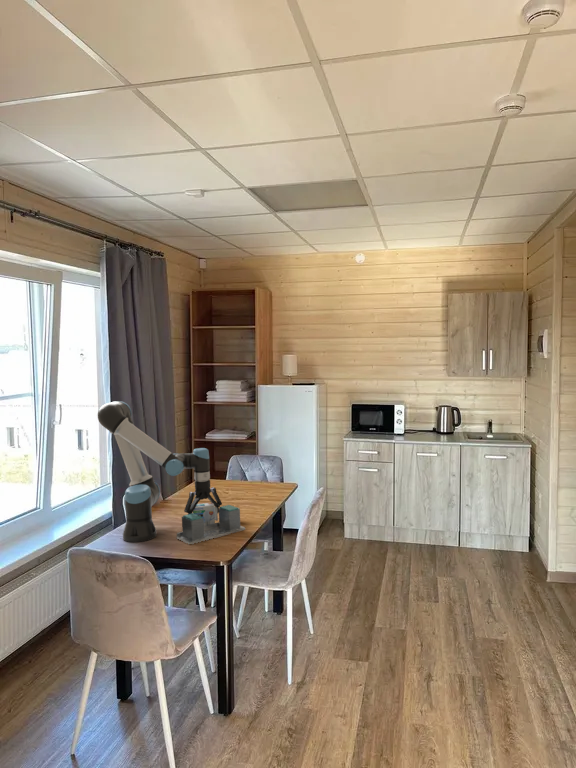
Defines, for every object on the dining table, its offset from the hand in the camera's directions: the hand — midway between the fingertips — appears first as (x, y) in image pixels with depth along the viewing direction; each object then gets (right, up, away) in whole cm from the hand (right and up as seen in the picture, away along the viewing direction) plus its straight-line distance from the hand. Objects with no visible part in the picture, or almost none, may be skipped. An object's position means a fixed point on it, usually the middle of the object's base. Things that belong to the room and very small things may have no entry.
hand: (204, 523), depth 272 cm
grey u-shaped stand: (+5, -2, -12) cm, 14 cm away
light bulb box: (0, -2, 0) cm, 2 cm away
